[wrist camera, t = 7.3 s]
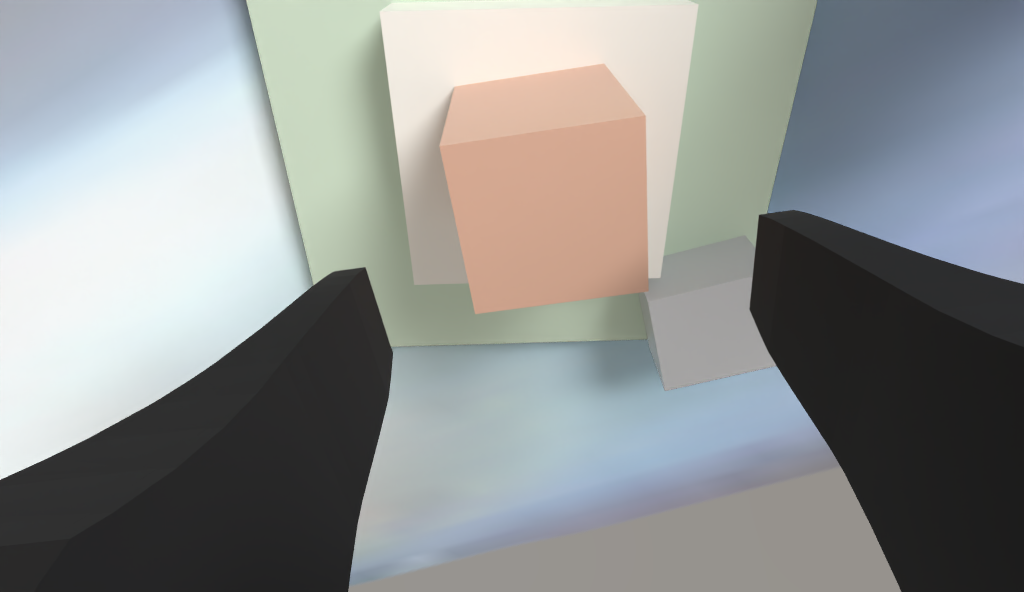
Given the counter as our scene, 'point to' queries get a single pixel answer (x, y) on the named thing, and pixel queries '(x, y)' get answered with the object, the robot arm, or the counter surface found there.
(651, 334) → the grey brick
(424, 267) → the cream square slab
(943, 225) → the counter surface
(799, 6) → the baseplate
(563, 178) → the salmon pink block
